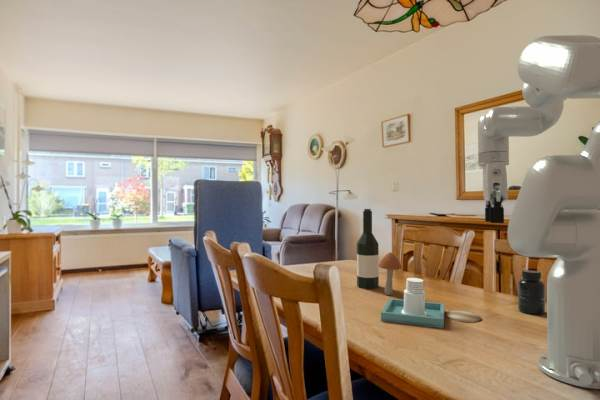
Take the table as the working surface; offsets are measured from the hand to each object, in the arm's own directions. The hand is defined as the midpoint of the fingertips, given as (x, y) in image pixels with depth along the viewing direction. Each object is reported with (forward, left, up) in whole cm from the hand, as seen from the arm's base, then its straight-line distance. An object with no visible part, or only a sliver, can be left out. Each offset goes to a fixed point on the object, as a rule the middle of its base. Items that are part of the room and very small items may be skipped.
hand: (494, 222), depth 102 cm
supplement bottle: (+14, -11, -27) cm, 33 cm away
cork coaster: (+1, +8, -27) cm, 28 cm away
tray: (-3, +21, -27) cm, 34 cm away
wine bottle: (+29, +41, -27) cm, 57 cm away
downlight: (-3, +21, -27) cm, 34 cm away
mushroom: (+19, +31, -27) cm, 45 cm away
